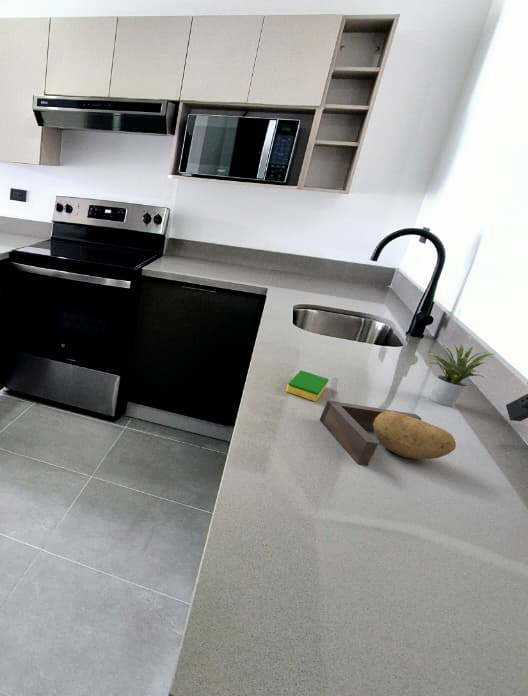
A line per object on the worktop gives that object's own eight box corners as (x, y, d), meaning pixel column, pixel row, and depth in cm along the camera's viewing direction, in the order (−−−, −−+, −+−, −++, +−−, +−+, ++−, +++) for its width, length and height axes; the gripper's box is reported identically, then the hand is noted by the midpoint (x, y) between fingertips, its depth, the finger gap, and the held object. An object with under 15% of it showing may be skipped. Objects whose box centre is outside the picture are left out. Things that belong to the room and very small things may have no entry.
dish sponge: (325, 387, 132) (329, 378, 131) (315, 402, 121) (318, 393, 120) (297, 377, 136) (300, 369, 135) (285, 391, 125) (288, 382, 124)
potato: (445, 478, 95) (465, 443, 92) (363, 449, 102) (379, 415, 99) (442, 458, 103) (460, 424, 100) (366, 432, 110) (380, 400, 106)
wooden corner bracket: (406, 433, 112) (416, 414, 110) (459, 480, 95) (472, 458, 93) (319, 419, 112) (327, 400, 110) (357, 464, 96) (367, 441, 94)
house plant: (442, 390, 142) (470, 336, 135) (488, 414, 130) (521, 356, 123) (401, 388, 139) (427, 333, 132) (444, 412, 127) (475, 352, 120)
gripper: (721, 316, 61) (548, 397, 82) (608, 303, 62) (465, 387, 83) (750, 369, 58) (562, 440, 79) (631, 355, 59) (476, 429, 80)
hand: (512, 413), depth 81 cm, fingers closed
